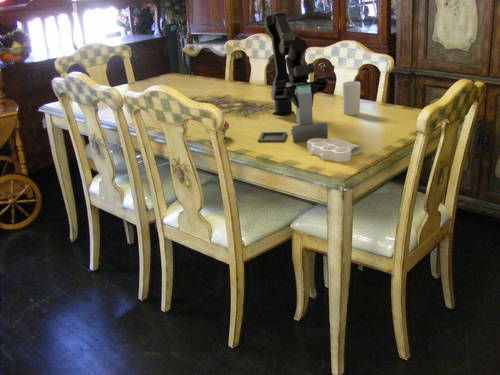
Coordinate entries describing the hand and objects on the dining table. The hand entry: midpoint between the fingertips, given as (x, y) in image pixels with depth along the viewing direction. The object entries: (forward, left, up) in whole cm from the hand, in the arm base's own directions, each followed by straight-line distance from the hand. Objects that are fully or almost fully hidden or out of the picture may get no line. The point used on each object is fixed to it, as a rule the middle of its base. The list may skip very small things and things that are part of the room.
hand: (305, 106), depth 207 cm
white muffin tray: (+19, -7, -11) cm, 23 cm away
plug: (-1, +1, -6) cm, 6 cm away
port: (0, 0, -11) cm, 11 cm away
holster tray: (-7, -9, -11) cm, 16 cm away
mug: (-9, +34, -11) cm, 37 cm away
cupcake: (-23, -21, -11) cm, 33 cm away
